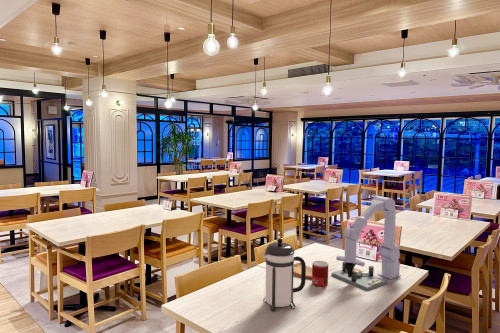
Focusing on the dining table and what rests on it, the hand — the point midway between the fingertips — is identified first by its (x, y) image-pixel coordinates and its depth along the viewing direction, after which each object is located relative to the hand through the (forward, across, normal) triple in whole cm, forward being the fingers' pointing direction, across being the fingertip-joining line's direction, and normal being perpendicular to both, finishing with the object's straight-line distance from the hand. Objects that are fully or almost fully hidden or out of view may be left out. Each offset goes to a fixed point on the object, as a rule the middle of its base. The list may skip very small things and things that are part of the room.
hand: (349, 276), depth 177 cm
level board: (+3, +2, +8) cm, 8 cm away
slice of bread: (+4, -25, -5) cm, 26 cm away
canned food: (+3, -10, -12) cm, 16 cm away
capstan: (+1, +1, +6) cm, 6 cm away
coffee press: (+3, -12, -43) cm, 44 cm away
